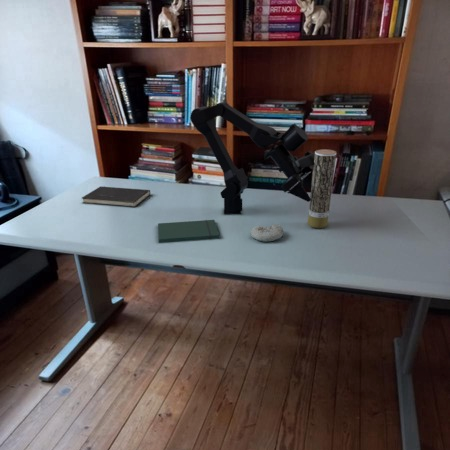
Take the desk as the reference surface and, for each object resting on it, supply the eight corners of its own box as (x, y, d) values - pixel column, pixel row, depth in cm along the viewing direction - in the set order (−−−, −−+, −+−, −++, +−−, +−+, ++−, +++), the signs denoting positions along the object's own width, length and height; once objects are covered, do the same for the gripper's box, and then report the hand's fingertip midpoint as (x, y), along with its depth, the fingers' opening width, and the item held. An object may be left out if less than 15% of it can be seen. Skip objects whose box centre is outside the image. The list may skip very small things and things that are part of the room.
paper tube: (328, 223, 148) (337, 150, 135) (325, 230, 143) (335, 155, 130) (309, 220, 150) (316, 148, 137) (306, 227, 145) (313, 153, 132)
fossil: (274, 217, 142) (291, 231, 136) (273, 227, 145) (289, 241, 138) (246, 223, 138) (262, 237, 131) (245, 233, 140) (260, 247, 133)
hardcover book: (134, 207, 165) (134, 201, 163) (82, 203, 169) (81, 197, 168) (150, 194, 178) (150, 189, 176) (101, 191, 183) (100, 186, 181)
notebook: (158, 242, 136) (158, 239, 135) (158, 226, 148) (157, 223, 147) (219, 238, 138) (219, 234, 138) (214, 222, 150) (214, 219, 149)
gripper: (293, 150, 128) (324, 190, 130) (311, 138, 143) (339, 174, 144) (268, 173, 136) (298, 210, 137) (287, 160, 150) (314, 194, 151)
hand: (313, 196), depth 142 cm, fingers open, 9 cm apart
